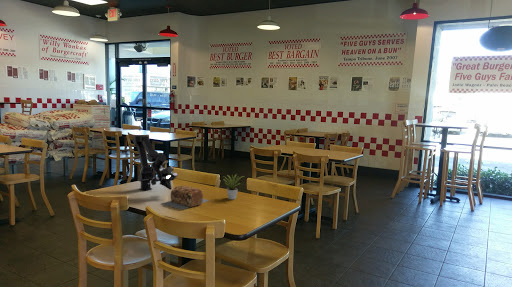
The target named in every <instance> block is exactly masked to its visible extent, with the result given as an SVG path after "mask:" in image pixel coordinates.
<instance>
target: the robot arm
mask: <svg viewBox="0 0 512 287" xmlns="http://www.w3.org/2000/svg"><path fill="white" fill-rule="evenodd" d="M132 142H133V145H134V146H135V147H136V149H137V152H138V159H139V163H140V167H141V168H140V171H139V175H138V176H137V181H138V182H140V187H139V188H138V190H141V191H143V192H144V191H150V190H152V189H153V188H152V187H151V185H152V186H156V185H157V182H159V185H160V186H163V187H165V188H166V189H167V190H171V191H172V190H173V189H172V183H171V182H173V181H174V180H175V179H176V178H178V173H177V172H173V171H174V167H173V165H171V166H168V167H163V166H164V164H165V162H166V160H167V156H166V155H165V154H163V153H162V152H158V150H156V149H154V147H153V144H152V143H151V141H150V139H149V136H148V135H143V134H141V135H140V134H138V135H134V136H132ZM149 163H151V164H150V165H149ZM154 172H155V173H154ZM154 175H155V176H154Z"/></svg>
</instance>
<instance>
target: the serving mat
mask: <svg viewBox="0 0 512 287" xmlns="http://www.w3.org/2000/svg"><path fill="white" fill-rule="evenodd" d="M209 201H210V199H205V198H203V200H202V204H204V203H207V202H209ZM161 205H164V206H167V207H170V208H174V209H178V210H181V211H183V210H186V209H188V208H191V207H190V206H185V205H181V204H178V203H175V202H172V201H171V200H169V201H166V202H161Z"/></svg>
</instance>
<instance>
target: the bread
mask: <svg viewBox="0 0 512 287" xmlns="http://www.w3.org/2000/svg"><path fill="white" fill-rule="evenodd" d="M203 196H204V194H203V191H202V190H201V189H199V188H197V187H191V186H186V185H180V186H178V185H177V186H175V187H174V188H173V189H171V191H170V201H172V202H175V203H178V204H181V205H185V206H190V207H189V208H192V207H196V206H199V205H202V204H203V203H202V200H203V199H204V198H203Z"/></svg>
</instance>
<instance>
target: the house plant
mask: <svg viewBox="0 0 512 287" xmlns="http://www.w3.org/2000/svg"><path fill="white" fill-rule="evenodd" d="M233 175H234V174H231V176H232V177H231V176H230V175H228V178H227V177H226V176H222V177H224V178H225V179H224V178H223V179H222V180H223V181H224V184H225V185H227V186H226V193H227V199H228V200H236V199H237V195H238V188H237V187H241V185H240V184H241V183H240V182H239V180H240V179H241V178H243V177H244V178H245V175H243V176H239V175H238V174H237V173H236V174H235V175H234V176H233ZM237 175H238V176H237ZM238 182H239V183H238Z"/></svg>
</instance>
